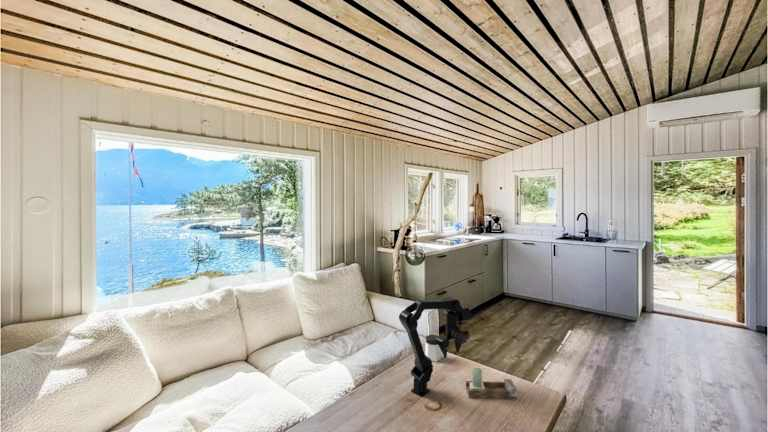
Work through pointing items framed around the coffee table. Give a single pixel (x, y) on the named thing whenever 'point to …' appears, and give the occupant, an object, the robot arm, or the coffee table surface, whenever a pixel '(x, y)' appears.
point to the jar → (432, 348)
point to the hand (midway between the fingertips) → (451, 355)
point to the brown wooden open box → (494, 390)
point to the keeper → (477, 380)
